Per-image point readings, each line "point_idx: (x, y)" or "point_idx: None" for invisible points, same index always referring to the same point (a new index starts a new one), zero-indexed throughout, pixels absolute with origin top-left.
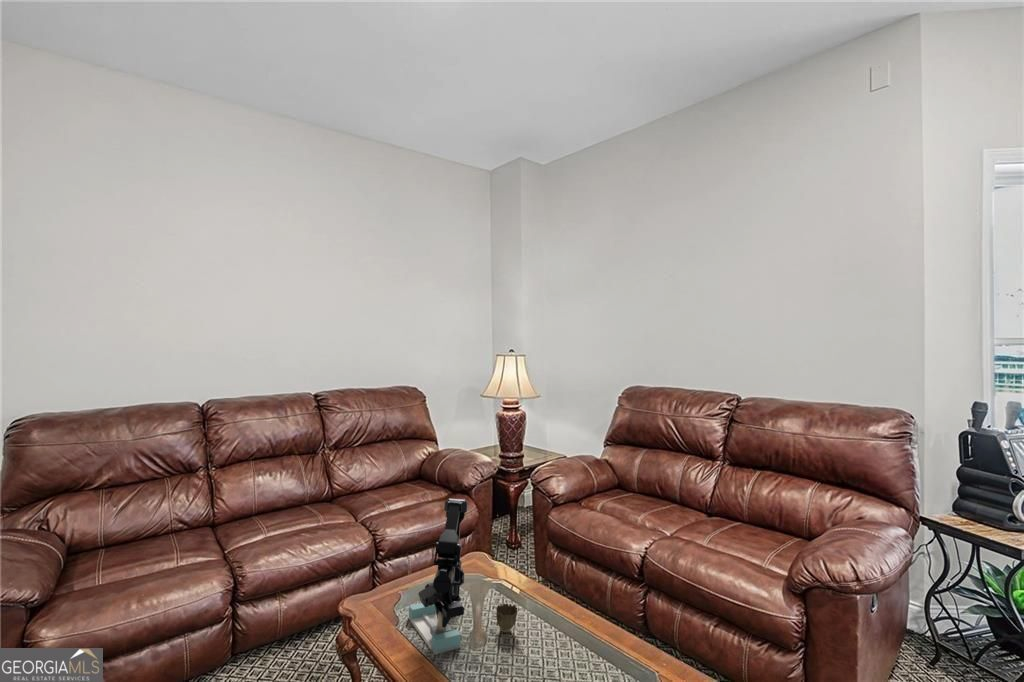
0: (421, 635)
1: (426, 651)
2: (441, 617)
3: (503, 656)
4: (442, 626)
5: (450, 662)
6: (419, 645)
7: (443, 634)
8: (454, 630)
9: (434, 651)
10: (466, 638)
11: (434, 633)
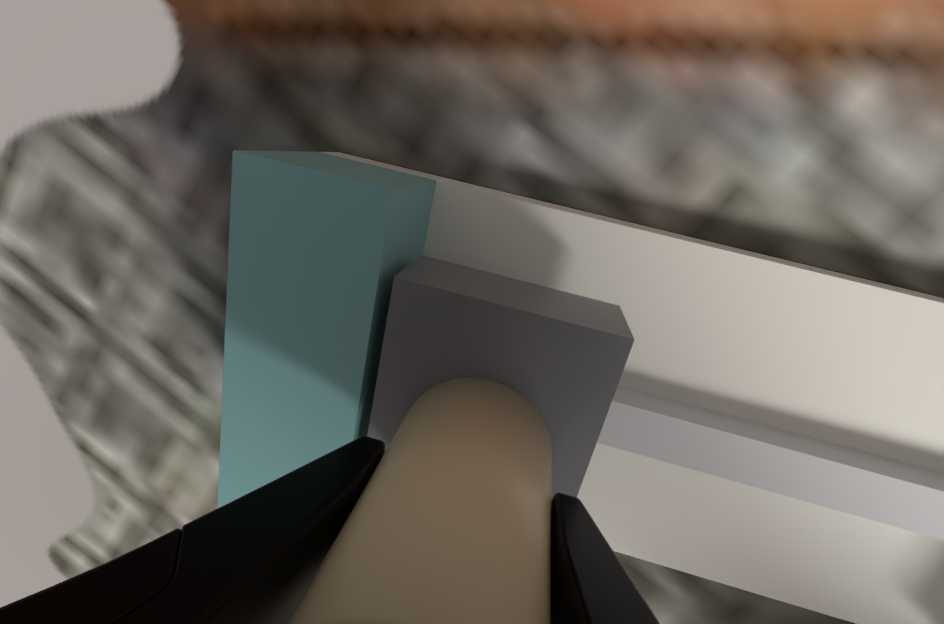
0: (758, 253)
1: (450, 110)
2: (326, 578)
3: (66, 574)
4: (364, 442)
5: (155, 211)
6: (612, 110)
7: (325, 363)
8: None
9: (334, 154)
10: None
11: (454, 285)
